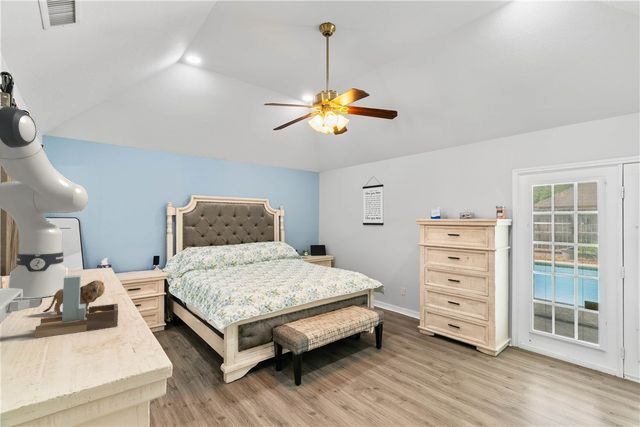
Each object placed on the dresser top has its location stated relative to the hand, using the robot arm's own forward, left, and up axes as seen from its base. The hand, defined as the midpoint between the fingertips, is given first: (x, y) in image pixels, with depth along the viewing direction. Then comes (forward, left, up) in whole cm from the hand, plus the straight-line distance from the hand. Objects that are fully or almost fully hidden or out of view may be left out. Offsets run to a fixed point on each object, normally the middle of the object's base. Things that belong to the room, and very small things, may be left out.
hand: (41, 301), depth 72 cm
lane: (0, +4, -7) cm, 8 cm away
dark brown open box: (0, +12, -7) cm, 14 cm away
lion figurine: (-16, +6, -8) cm, 18 cm away
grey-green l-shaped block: (0, +6, -6) cm, 8 cm away
